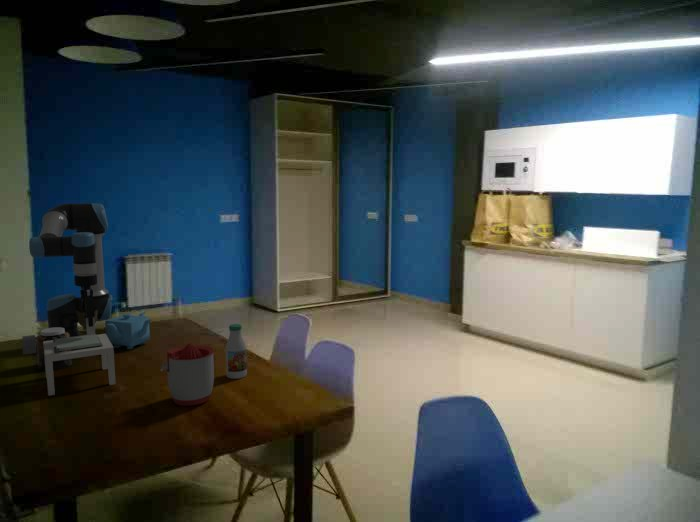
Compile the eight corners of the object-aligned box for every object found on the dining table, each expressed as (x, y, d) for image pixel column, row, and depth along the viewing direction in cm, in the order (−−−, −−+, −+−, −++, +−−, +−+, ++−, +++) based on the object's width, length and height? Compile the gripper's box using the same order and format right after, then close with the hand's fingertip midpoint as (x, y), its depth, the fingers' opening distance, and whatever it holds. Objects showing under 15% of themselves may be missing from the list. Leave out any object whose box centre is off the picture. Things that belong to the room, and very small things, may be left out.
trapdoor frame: (45, 377, 204) (42, 337, 202) (107, 367, 215) (105, 329, 213) (48, 395, 186) (45, 352, 184) (115, 384, 197) (113, 343, 195)
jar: (46, 372, 209) (43, 335, 207) (33, 366, 216) (30, 330, 214) (77, 364, 219) (74, 329, 217) (63, 359, 226) (61, 324, 224)
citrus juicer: (161, 395, 186) (159, 339, 184) (212, 389, 193) (211, 335, 190) (163, 413, 172) (160, 352, 169) (218, 405, 178) (216, 347, 175)
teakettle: (105, 343, 249) (103, 312, 247) (148, 337, 258) (146, 307, 256) (109, 354, 233) (106, 321, 231) (154, 348, 242) (152, 316, 239)
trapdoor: (23, 355, 184) (22, 346, 183) (23, 345, 196) (22, 336, 195) (100, 345, 196) (100, 336, 196) (96, 336, 208) (95, 327, 208)
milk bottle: (222, 377, 205) (220, 326, 202) (235, 371, 211) (234, 321, 209) (238, 380, 201) (236, 328, 198) (251, 374, 208) (249, 324, 205)
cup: (102, 327, 206) (101, 307, 205) (91, 332, 199) (90, 311, 198) (84, 326, 207) (83, 306, 206) (72, 331, 200) (71, 311, 198)
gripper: (71, 270, 206) (74, 324, 209) (77, 280, 185) (81, 340, 188) (92, 269, 210) (96, 322, 213) (100, 278, 189) (104, 337, 192)
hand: (89, 330), depth 200 cm, fingers open, 13 cm apart
